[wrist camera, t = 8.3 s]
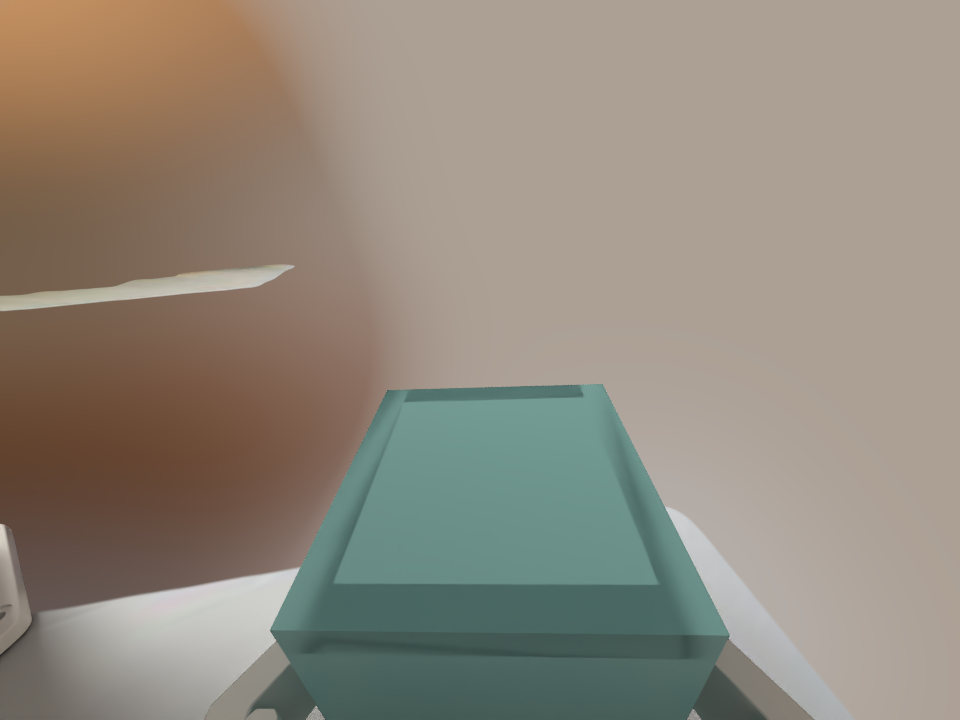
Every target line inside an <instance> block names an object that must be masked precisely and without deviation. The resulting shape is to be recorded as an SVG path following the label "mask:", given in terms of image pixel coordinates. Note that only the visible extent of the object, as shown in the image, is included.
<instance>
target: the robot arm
mask: <svg viewBox="0 0 960 720" xmlns="http://www.w3.org/2000/svg"><path fill="white" fill-rule="evenodd" d="M31 621H32V616H31V612H30V607H29V603H28V599H27V594H26V590H25V585H24V581H23V576H22V571H21V567H20V562H19V558H18V553H17V549H16V545H15V541H14V536H13V532H12V530H11V529H9V528H8V527H6V526H5V525H3V524H0V654H2V653H3V652H4V651H5V650H6V649H7V648H8V647H10V646H11V645H12V644H13V643H14V642H15V641H16V640H17V639H18V638H19V637H20V636H21V635H22V634H23V633H24V632H25V631H26V630H27V628H28V627H29V626H30V624H31ZM315 706H316V704H315V702H314V700H313V699H312V697H311V696H310V694H309V692H308V691H307V689H306V688H305V686H304V684H303V683H302V681H301V679H300V678H299V676H298V675H297V673H296V671H295V670H294V668H293V667H292V665H291V663H290V662H289V660H288V658H287V657H286V655H285V654H284V652H283V650H282V649H281V647H280V646H279V644H278V642H277V641H276V642H275V643H274V644H273V645H272V646H271V647H270V648H269V649H268V650H267V651H266V652H265V653H264V654H263V655H262V656H261V657H260V658H259V659H258V660H257V661H256V662H255V663H254V664H253V665H252V666H251V667H250V668H249V669H248V670H246V671H245V672H244V673H243V674H242V675H241V676H240V677H239V678H238V679H237V680H236V681H235V682H234V683H233V684H232V685H231V686H230V687H229V688H228V689H227V690H226V691H225V692H224V693H223V694H222V695H221V696H220V697H219V698H218V699H217V700H216V701H215V702H214V703H213V704H212V705H211V707H210V709H209V711H208V713H207V714H206V716H205V718H204V720H306V718H307V717H308V715H309V714H310V713H311V711H312V710H313V709H314V707H315ZM693 709H694V710H695V711H696V712H697V714H698V715H699V716H700V718H701V719H702V720H814V719H813V718H812V717H811V716H810V715H809V714H808V713H807V712H806V711H805V710H804V709H803V708H801V707H800V706H799V705H798V704H797V703H796V702H795V701H794V700H793V699H792V698H791V697H790V696H789V695H788V694H786V693H785V692H784V691H783V690H782V689H781V688H780V687H779V686H778V685H777V684H776V683H775V682H774V681H773V680H772V679H770V678H769V677H768V676H767V675H766V674H765V673H764V672H763V671H762V670H761V669H760V668H759V667H758V666H757V665H755V664H754V663H753V662H752V661H751V660H750V659H749V658H748V657H747V656H746V655H745V654H744V653H743V652H742V651H741V650H739V649H738V648H737V647H736V646H735V645H734V644H733V643H732V642H731V641H730V640H729V639H728V640H727V642H726V644H725V646H724V648H723V650H722V652H721V654H720V656H719V658H718V660H717V661H716V663H715V665H714V667H713V669H712V671H711V673H710V675H709V677H708V679H707V681H706V683H705V685H704V687H703V689H702V691H701V693H700V695H699V697H698V699H697V701H696V702H695V704H694V706H693Z"/></svg>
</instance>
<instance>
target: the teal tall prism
mask: <svg viewBox="0 0 960 720" xmlns="http://www.w3.org/2000/svg"><path fill="white" fill-rule="evenodd" d="M270 631H271V633H272V634H273V636H274V638H275V639H276V641H277V642H278V644H279V646H280V647H281V649H282V650H283V652H284V654H285V655H286V657H287V658H288V660H289V662H290V663H291V665H292V667H293V668H294V670H295V671H296V673H297V675H298V676H299V678H300V679H301V681H302V683H303V684H304V686H305V688H306V689H307V691H308V692H309V694H310V696H311V697H312V699H313V700H314V702H315V704H316V705H317V707H318V708H319V710H320V712H321V713H322V715H323V717H324V718H325V720H687V718H688V716H689V714H690V712H691V710H692V708H693V706H694V704H695V702H696V701H697V699H698V697H699V695H700V693H701V691H702V689H703V687H704V685H705V683H706V681H707V679H708V677H709V675H710V673H711V671H712V669H713V667H714V665H715V663H716V661H717V660H718V658H719V656H720V654H721V652H722V650H723V648H724V646H725V644H726V642H727V640H728V638H729V636H730V635H729V633H728V631H727V629H726V627H725V625H724V623H723V621H722V619H721V617H720V615H719V613H718V611H717V609H716V607H715V605H714V603H713V601H712V599H711V597H710V596H709V594H708V592H707V590H706V588H705V586H704V584H703V582H702V580H701V578H700V576H699V574H698V572H697V570H696V568H695V566H694V564H693V562H692V560H691V558H690V556H689V554H688V552H687V550H686V548H685V546H684V544H683V542H682V540H681V538H680V536H679V534H678V532H677V530H676V528H675V526H674V524H673V522H672V520H671V519H670V517H669V515H668V513H667V511H666V509H665V507H664V505H663V503H662V501H661V499H660V497H659V495H658V493H657V491H656V489H655V487H654V485H653V483H652V481H651V479H650V477H649V475H648V473H647V471H646V469H645V467H644V465H643V463H642V461H641V459H640V457H639V455H638V453H637V452H636V449H635V448H634V445H633V444H632V441H631V440H630V438H629V436H628V434H627V432H626V430H625V428H624V426H623V424H622V422H621V420H620V418H619V416H618V414H617V412H616V410H615V408H614V406H613V404H612V402H611V400H610V398H609V396H608V394H607V392H606V390H605V388H604V386H603V384H593V385H591V384H590V385H555V386H520V387H488V388H487V387H485V388H449V389H414V390H387V392H386V394H385V397H384V398H383V400H382V402H381V404H380V407H379V409H378V411H377V413H376V415H375V417H374V419H373V421H372V423H371V425H370V427H369V429H368V431H367V433H366V435H365V437H364V439H363V441H362V443H361V445H360V448H359V449H358V451H357V454H356V455H355V458H354V460H353V462H352V464H351V466H350V468H349V470H348V472H347V474H346V476H345V478H344V480H343V482H342V484H341V486H340V488H339V490H338V492H337V495H336V496H335V499H334V500H333V503H332V505H331V507H330V509H329V511H328V513H327V515H326V517H325V519H324V521H323V523H322V525H321V527H320V529H319V531H318V533H317V535H316V537H315V539H314V541H313V543H312V545H311V547H310V550H309V552H308V554H307V556H306V558H305V560H304V562H303V564H302V566H301V568H300V570H299V572H298V574H297V576H296V578H295V580H294V582H293V584H292V586H291V588H290V590H289V592H288V594H287V597H286V599H285V601H284V603H283V605H282V607H281V609H280V611H279V613H278V615H277V617H276V619H275V621H274V623H273V625H272V627H271V629H270Z"/></svg>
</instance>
